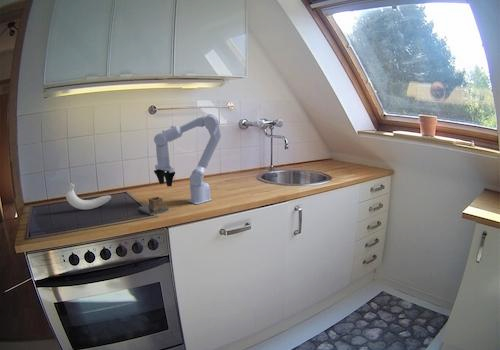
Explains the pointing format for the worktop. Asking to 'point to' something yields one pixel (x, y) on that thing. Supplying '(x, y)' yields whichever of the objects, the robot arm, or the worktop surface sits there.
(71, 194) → the banana
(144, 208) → the pin plate
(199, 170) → the robot arm
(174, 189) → the worktop surface
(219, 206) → the worktop surface
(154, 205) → the hollow block
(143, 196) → the worktop surface
